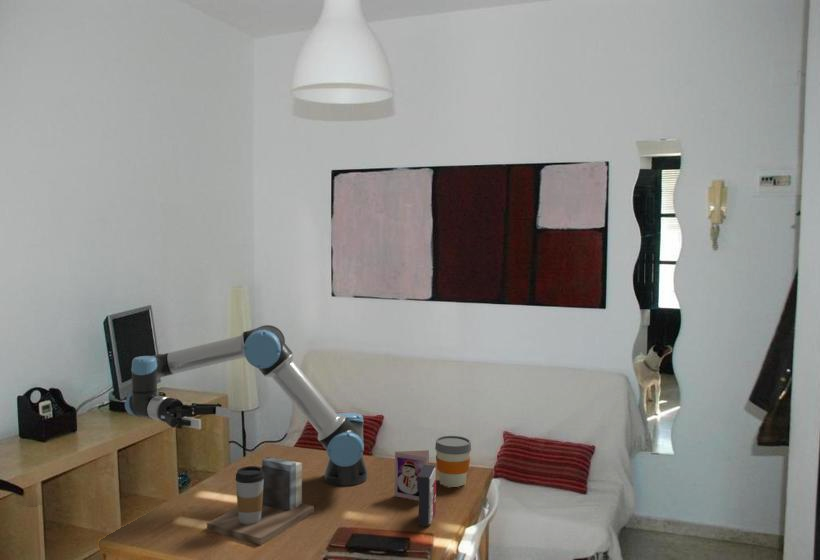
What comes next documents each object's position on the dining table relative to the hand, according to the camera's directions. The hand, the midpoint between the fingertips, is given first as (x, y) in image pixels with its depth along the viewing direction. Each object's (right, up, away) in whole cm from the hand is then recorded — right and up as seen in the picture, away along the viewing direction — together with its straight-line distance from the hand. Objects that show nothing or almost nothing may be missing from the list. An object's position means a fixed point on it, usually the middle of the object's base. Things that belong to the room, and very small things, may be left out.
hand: (216, 418), depth 202 cm
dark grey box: (+63, -31, +2) cm, 71 cm away
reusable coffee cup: (+73, -29, +32) cm, 85 cm away
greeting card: (+60, -30, +20) cm, 69 cm away
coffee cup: (+11, -29, -6) cm, 32 cm away
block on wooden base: (+14, -30, -1) cm, 33 cm away
